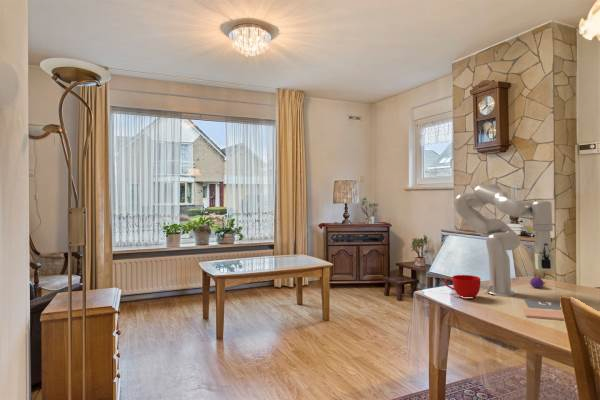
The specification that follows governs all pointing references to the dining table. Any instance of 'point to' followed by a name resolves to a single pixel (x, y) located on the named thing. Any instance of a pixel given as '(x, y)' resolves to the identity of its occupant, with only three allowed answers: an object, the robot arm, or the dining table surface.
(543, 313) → the set down board
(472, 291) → the ceramic cup
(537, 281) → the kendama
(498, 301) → the dining table surface
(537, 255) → the block
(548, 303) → the mat
